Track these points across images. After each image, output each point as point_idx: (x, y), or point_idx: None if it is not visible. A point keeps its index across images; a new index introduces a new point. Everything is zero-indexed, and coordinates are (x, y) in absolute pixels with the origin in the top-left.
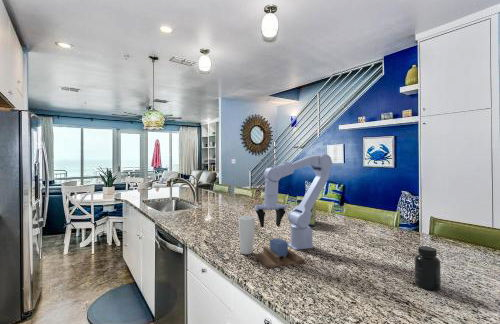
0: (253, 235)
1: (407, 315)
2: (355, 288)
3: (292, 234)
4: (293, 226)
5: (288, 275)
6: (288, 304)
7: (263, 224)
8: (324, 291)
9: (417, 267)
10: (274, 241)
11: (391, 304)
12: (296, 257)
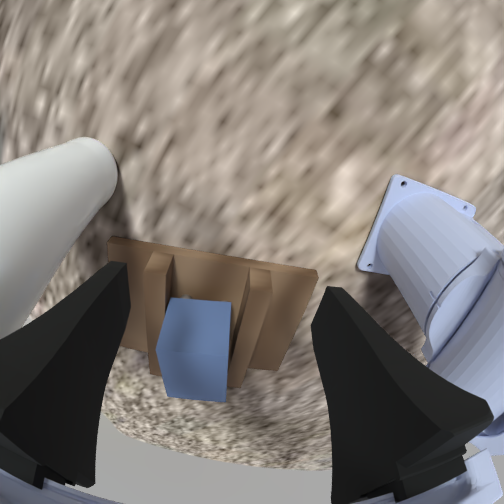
0: (63, 259)
1: (259, 464)
2: (264, 440)
3: (409, 278)
4: (442, 317)
5: None
6: (122, 423)
7: (116, 336)
8: (203, 432)
9: None
10: (167, 374)
11: (267, 458)
12: (268, 350)
